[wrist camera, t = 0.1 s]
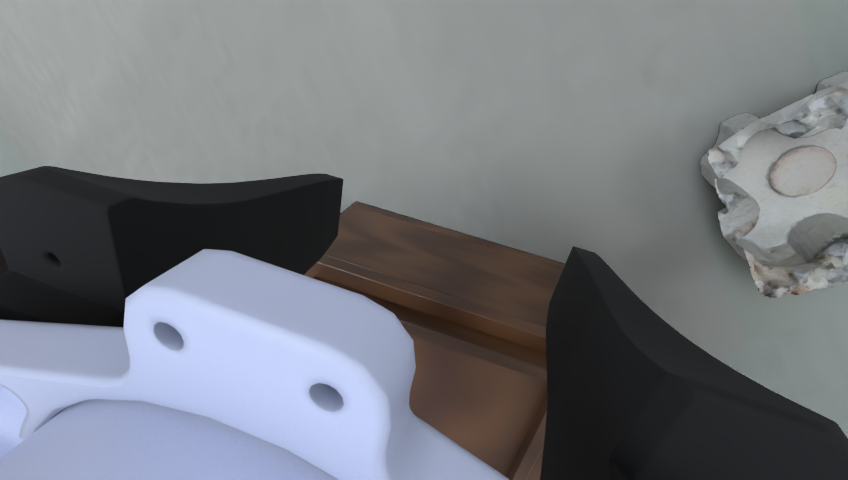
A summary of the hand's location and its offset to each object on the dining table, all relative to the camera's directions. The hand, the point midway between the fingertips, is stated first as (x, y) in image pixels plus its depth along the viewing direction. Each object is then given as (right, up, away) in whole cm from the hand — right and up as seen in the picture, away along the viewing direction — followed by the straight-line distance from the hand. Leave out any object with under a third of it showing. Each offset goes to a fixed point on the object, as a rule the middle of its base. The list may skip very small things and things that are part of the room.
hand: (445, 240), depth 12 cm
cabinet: (+1, -5, +14) cm, 15 cm away
